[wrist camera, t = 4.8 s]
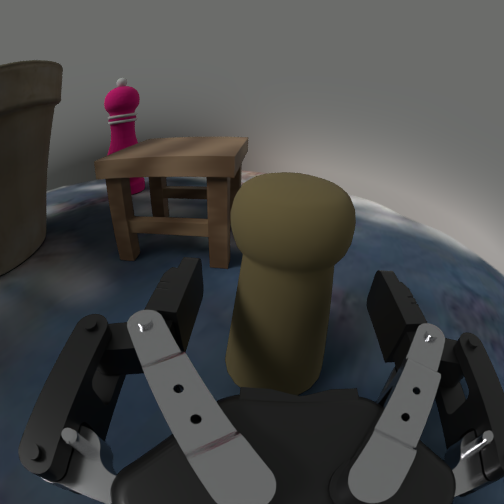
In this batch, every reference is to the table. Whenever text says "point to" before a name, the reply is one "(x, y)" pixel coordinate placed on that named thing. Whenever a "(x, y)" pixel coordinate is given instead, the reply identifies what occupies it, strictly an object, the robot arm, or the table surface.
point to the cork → (285, 278)
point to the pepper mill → (123, 123)
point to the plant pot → (25, 155)
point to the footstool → (175, 189)
